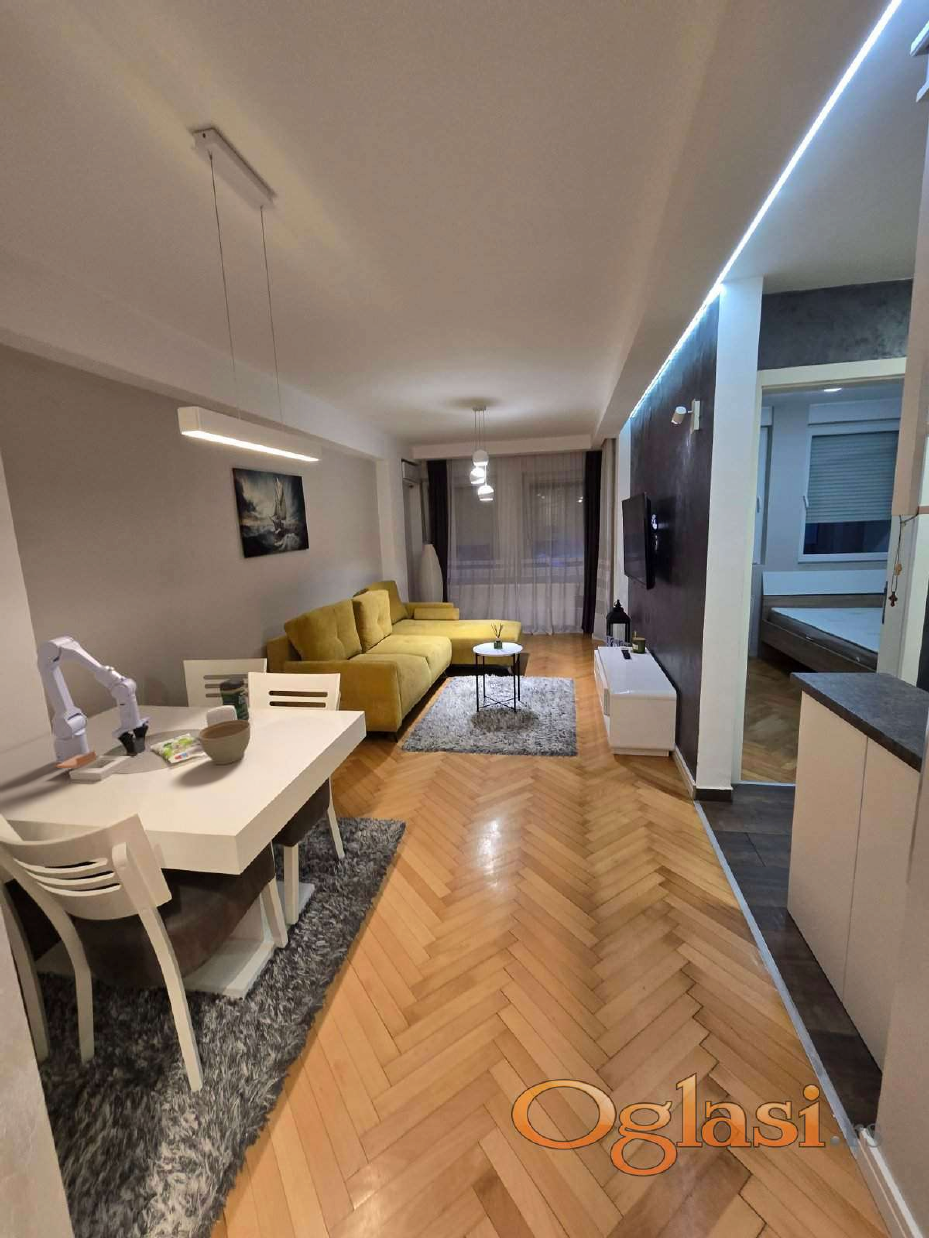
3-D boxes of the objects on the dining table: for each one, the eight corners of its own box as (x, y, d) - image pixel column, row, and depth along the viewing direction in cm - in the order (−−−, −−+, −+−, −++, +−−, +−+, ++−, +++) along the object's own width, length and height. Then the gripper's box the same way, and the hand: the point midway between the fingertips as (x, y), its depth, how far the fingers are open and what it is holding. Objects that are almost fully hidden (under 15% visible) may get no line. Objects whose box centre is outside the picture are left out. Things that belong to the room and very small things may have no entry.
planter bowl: (195, 761, 171) (190, 731, 169) (242, 744, 182) (238, 716, 180) (213, 774, 160) (208, 742, 158) (262, 756, 171) (258, 726, 169)
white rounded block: (238, 732, 195) (233, 701, 192) (240, 735, 191) (235, 704, 189) (209, 739, 189) (204, 708, 187) (210, 743, 186) (205, 711, 183)
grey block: (127, 754, 180) (124, 741, 179) (136, 750, 184) (133, 737, 183) (136, 755, 179) (134, 742, 178) (145, 750, 183) (143, 737, 182)
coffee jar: (239, 726, 200) (232, 682, 197) (221, 726, 201) (214, 682, 198) (253, 717, 210) (246, 675, 206) (236, 717, 211) (229, 675, 208)
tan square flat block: (57, 767, 166) (55, 759, 166) (79, 756, 174) (77, 749, 173) (77, 768, 165) (75, 760, 164) (98, 757, 172) (97, 749, 172)
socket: (70, 779, 163) (69, 771, 163) (103, 762, 175) (101, 755, 175) (101, 780, 161) (100, 772, 161) (132, 762, 173) (131, 756, 172)
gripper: (121, 721, 171) (128, 757, 174) (154, 706, 185) (160, 740, 188) (103, 720, 173) (111, 757, 175) (138, 705, 187) (144, 740, 189)
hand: (135, 748), depth 181 cm, fingers open, 4 cm apart
